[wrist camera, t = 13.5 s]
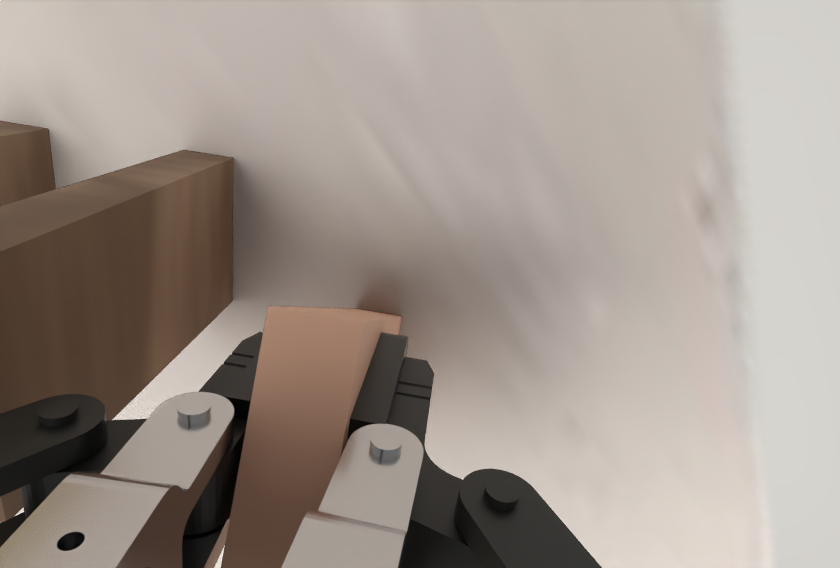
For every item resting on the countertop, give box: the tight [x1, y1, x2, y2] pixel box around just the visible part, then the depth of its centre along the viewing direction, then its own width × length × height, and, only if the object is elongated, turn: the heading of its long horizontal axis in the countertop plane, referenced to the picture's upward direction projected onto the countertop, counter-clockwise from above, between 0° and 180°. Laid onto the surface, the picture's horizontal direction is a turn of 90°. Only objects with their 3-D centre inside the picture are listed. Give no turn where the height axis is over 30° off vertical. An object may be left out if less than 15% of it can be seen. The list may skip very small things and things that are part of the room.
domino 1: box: [0, 150, 233, 523], centre depth 14 cm, size 2×5×10 cm, turn 172°
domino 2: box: [221, 306, 402, 568], centre depth 14 cm, size 2×5×10 cm, turn 172°
